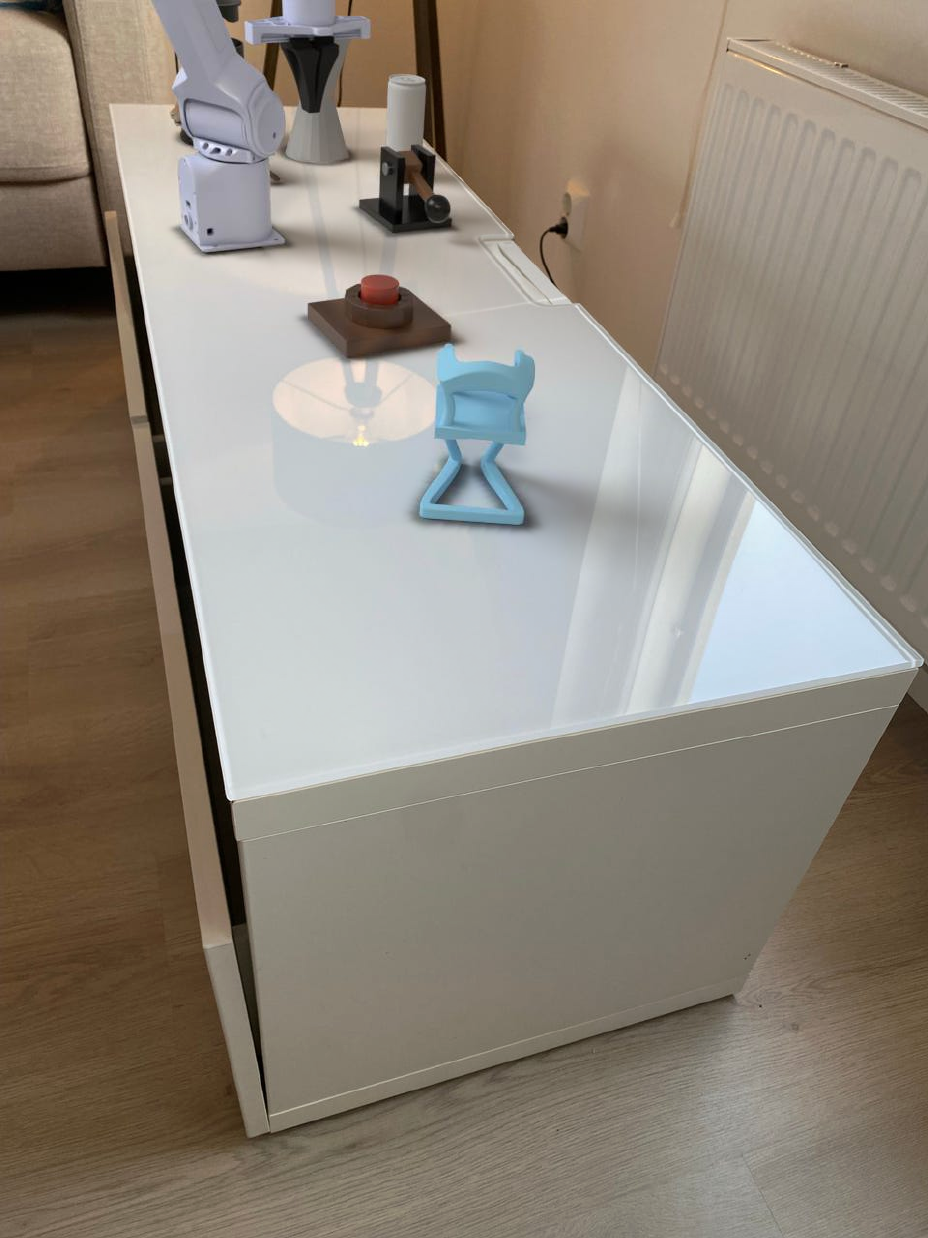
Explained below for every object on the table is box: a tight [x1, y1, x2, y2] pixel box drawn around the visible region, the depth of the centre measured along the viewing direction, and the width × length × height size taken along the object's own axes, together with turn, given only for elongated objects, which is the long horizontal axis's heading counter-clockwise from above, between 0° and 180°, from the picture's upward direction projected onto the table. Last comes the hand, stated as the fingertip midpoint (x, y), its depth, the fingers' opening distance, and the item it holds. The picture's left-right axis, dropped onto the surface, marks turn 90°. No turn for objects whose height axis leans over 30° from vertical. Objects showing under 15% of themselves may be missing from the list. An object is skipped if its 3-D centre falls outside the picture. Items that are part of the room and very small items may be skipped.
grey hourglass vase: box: [285, 38, 352, 163], centre depth 127 cm, size 9×9×35 cm
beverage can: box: [385, 73, 427, 151], centre depth 130 cm, size 5×5×12 cm
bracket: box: [358, 144, 453, 234], centre depth 119 cm, size 9×8×8 cm
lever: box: [396, 150, 452, 223], centre depth 116 cm, size 11×3×3 cm, turn 30°
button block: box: [307, 282, 452, 359], centre depth 96 cm, size 11×9×4 cm
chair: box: [419, 343, 536, 526], centre depth 73 cm, size 8×8×12 cm
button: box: [360, 274, 400, 305], centre depth 95 cm, size 4×4×2 cm
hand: (310, 110), depth 117 cm, fingers closed
